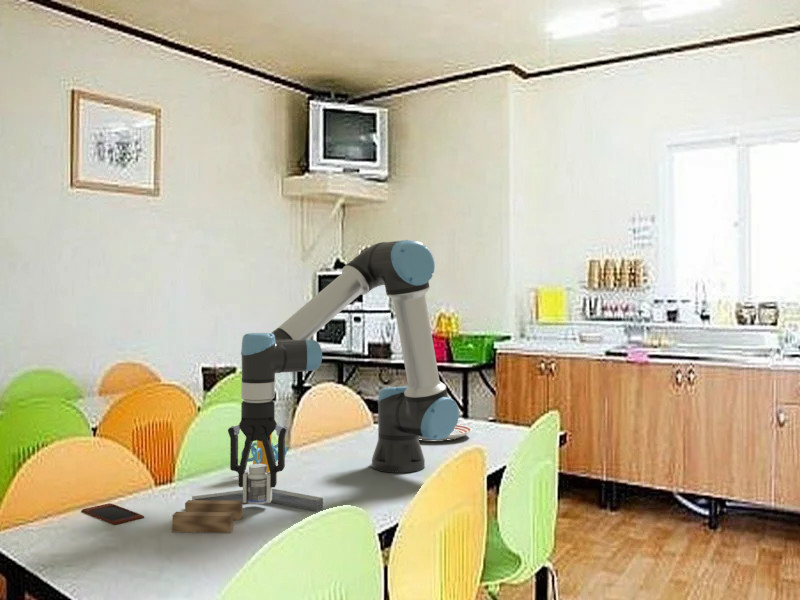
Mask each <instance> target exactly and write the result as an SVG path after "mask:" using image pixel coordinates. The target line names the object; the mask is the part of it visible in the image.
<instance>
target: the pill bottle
mask: <svg viewBox="0 0 800 600" xmlns="http://www.w3.org/2000/svg"><path fill="white" fill-rule="evenodd" d="M248 471H249V475H248V477H247V483H248V486H247V488H248V489H247V500H248V503H247V504H250V505H264V504H267V473H266V472H267V466H266V465H265V464H253V463H252V464H250V465H249V466H248Z"/></svg>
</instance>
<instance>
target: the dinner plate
mask: <svg viewBox="0 0 800 600" xmlns="http://www.w3.org/2000/svg"><path fill="white" fill-rule="evenodd" d="M454 429H455V430H458V431H459V432H460V434H452V435H449V436H448V437H446V438H444V439H441V440H447V439H454V440H456V439H455V438H457V439H459V438H461V437H464V436H466V435H468V434H471V432H472V431H473V428H472V427H470V426H466V425H464V424H463V425H462V424H457V425H456V426H455V428H454ZM419 439H422V440H435V439H426V438H425V437H421V436H419Z"/></svg>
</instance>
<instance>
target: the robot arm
mask: <svg viewBox="0 0 800 600" xmlns="http://www.w3.org/2000/svg"><path fill="white" fill-rule="evenodd" d="M434 273H435V259H434V256H433V254H432V252H431V250H430V249H429V247H427V246H426V245H425V244H424V243H422V241H417V240H411V239H409V240H408V239H404V240H403V239H402V240H395V241H383V242H378V243H374V244H372V245H371V246H369V247H367V248H365V249H364V250H363V251H361V252H360V253H359V254H358V255H356V256H355V257H353V258H352V259H351V261H349V262H348V263H347V264H345V265H344V266H343V268H342V269H341V274H339V275H338V276H337V277H336V278H335V279H333V280H332V281H331V282H330V283H329V284H328V285H326V287H324V288H323V289H322V290H320V291H319V292H318V293H317V294H316V295H314V296H313V297H312V298H311V299H309V301H308V302H306V304H304V305H302V307H300V308H299V310H297V311H296V312H295V313H293V314H292V315H291V316H290V317H289V318H287V319H286V320H285V321H283V323H281V324H280V325H279V326H278V327H277V328H276V329H275V330H273V331H272V332H248V333H245V334H244V335H242V341H241V349H240V350H241V351H240V355H241V391H240V394H241V399H242V402H240V403H241V408H240V410H241V411H240V412H241V417H240V418H241V420H240V422H239V424H237V425H235V426H234V425H231V426H230V427H228V429H227V433H228V435H229V438H230V441H229V442H230V451H229V453H230V454H229V455H230V471H232V472H233V471H234V472H237V474H238V487H239V488H242V490H243V504H247V503H246V502H247V501H248V500H247V489H248V488H247V486H248V483H247V477H248V475H249V474H250V473H249V470H248V471H246V470H247V465H248V459H250V458H249V457H250V453H251V446H252V444H253V443H254V442H257V440H258V441H262V443H263V446H264V449H265V453H266V457H267V461H268V466H269V470H270V472H268V474H267V502H266V504H270V503H271V500H272V489H273V488H275V487H276V486H277V484H278V483H277V482H278V481H277V479H278V478H277V476H278V475H277V473H279V472H283V470H284V469H285V467H286V456H285V447H286V434H287V432H288V429H289V428H288V427H287V426H281V425H279V424H277V422H276V419H275V417H276V416H275V415H276V414H275V413H276V411H275V410H276V409H275V407H276V406H275V405H276V404H275V401H274V400H273V399H275V393H276V391H275V389H276V388H275V386H276V383H275V381H276V379H275V378H276V376H275V375H276V374H281V373H297V372H298V373H299V372H302V373H303V372H305V373H307V372H310V371H316V370H318V369H319V368H320V367H321V364H322V361H323V351H322V347H321V345H320V343H319V342H318V341H317V340H314V339H311V338H312V337H313V336H314V335H315V334H317V333H318V332H319V331H320V330H322V328H324V326H326V325H327V324H328V323H329V322H331V320H333V318H335V317H336V316H337V315H338V314H339V313H340V312H342V311H343V310H344V309H345V308H346V307H347V306H349V305H350V304H351V303H353V301H354V300H356V299H357V298H358V297H359V296H361V295H363V296H365V295H367V294H368V293H369V292H371V291H372V290H374V289H375V288H377V287H381V286H384V289H385V293H386V294H385V295H386V296H387V297H388V298H390V299H391V300H392V301H393V306H394V312H395V317H396V323H397V329H398V334H399V339H400V347H401V353H402V358H403V363H404V368H405V369H404V370H405V374H406V380H407V385H405V386H403V385H402V386H391V387H383V388H380V390H379V392H378V400H377V404H378V405H377V408H378V409H377V410H378V411H377V412H378V413H377V414H378V417H377V418H378V419H377V420H378V425H377V428H378V429H377V430H378V431H377V432H378V436H377V437H378V438H377V441H376V442H377V443H376V445H375V449H374V451H373V455H372V457H371V468H373V469H374V470H376V471H380V472H384V473H385V472H386V473H397V474H398V473H401V474H402V473H412V472H418V471H421V470H423V469H424V468H425V457H424V453H423V450H422V446H421V444H420V441H419V436H421V437H425V438H426V439H435V440H441V439H444V438H446V437H448V436H449V435H450V434H451V433H452V432H453V431H454V428H455V426H456V425H458V423H459V419H460V410H459V406H458V404H457V402H456V400H454V399H452V398H451V397H449V395H448V391H447V385H446V384H445V383H443V382H442V381H440V375H439V371H438V364H437V358H436V353H435V346H434V345H435V344H434V340H433V334H432V329H431V324H430V317H429V309H428V305H427V298H426V293H427V292H428V291H429V289H430V288H431V287H430V283H429V282H430V280H431V279H432V278H433V274H434ZM240 431H241V432H242V433H243V435H244V436H245V441H244V445H243V446H244V447H243V449H244V450H243V449H242V450H243V454H242V455H241V458H240V462H239V435H240ZM274 431H276V435H277V437H278V438H277V444H278V447H277V451H278V460H277V462H275V458H274V454H275V453H274V454H273V450H272V445H271V439H270V435H271V434H272V435H273V432H274Z"/></svg>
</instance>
